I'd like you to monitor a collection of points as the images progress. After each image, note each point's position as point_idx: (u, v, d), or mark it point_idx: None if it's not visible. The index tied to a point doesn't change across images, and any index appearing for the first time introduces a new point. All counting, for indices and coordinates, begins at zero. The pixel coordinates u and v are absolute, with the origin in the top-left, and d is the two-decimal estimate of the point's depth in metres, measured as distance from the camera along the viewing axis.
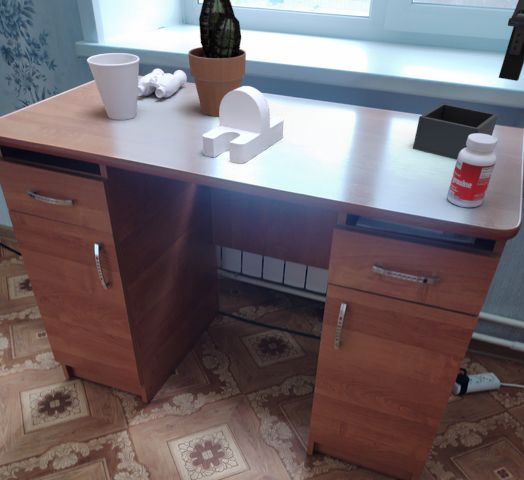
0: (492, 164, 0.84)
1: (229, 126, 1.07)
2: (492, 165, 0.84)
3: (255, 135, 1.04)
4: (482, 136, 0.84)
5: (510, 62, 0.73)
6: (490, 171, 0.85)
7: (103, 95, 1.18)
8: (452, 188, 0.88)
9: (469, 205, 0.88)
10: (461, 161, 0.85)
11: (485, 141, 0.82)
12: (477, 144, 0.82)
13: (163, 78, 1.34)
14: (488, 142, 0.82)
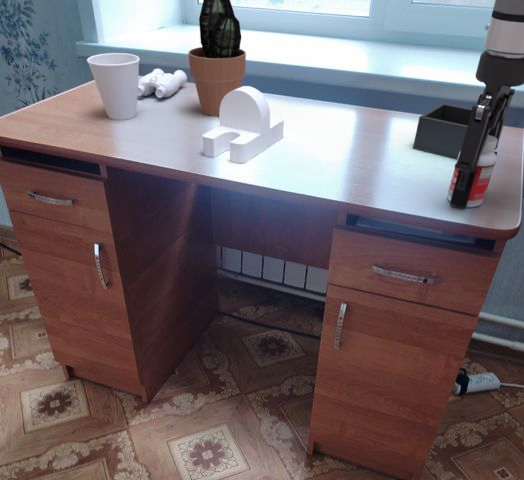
0: (492, 164, 0.84)
1: (229, 126, 1.07)
2: (492, 165, 0.84)
3: (256, 135, 1.04)
4: None
5: (458, 193, 0.87)
6: (490, 171, 0.85)
7: (103, 95, 1.18)
8: (452, 188, 0.88)
9: (469, 205, 0.88)
10: None
11: None
12: None
13: (163, 78, 1.34)
14: (489, 142, 0.82)
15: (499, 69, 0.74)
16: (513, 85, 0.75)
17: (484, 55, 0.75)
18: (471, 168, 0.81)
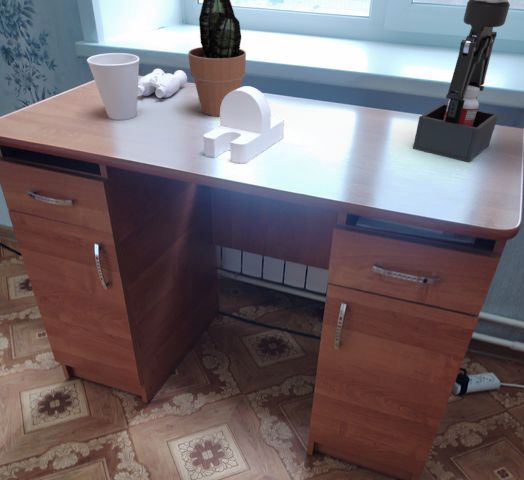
0: (475, 108, 1.04)
1: (229, 126, 1.07)
2: (475, 109, 1.04)
3: (256, 135, 1.04)
4: None
5: (449, 121, 1.04)
6: (473, 114, 1.05)
7: (103, 95, 1.18)
8: None
9: None
10: None
11: (470, 88, 1.03)
12: None
13: (163, 78, 1.34)
14: (473, 89, 1.02)
15: (482, 11, 0.92)
16: (493, 25, 0.93)
17: (470, 1, 0.93)
18: (459, 96, 0.98)
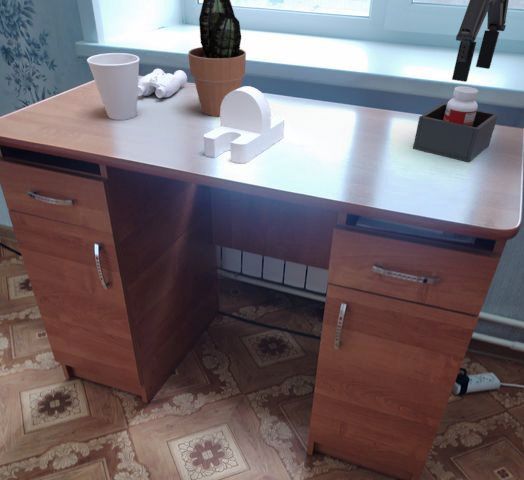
0: (474, 110, 1.04)
1: (229, 126, 1.07)
2: (474, 111, 1.04)
3: (256, 135, 1.04)
4: (466, 88, 1.04)
5: (459, 67, 0.96)
6: (472, 116, 1.05)
7: (103, 95, 1.18)
8: None
9: None
10: (449, 108, 1.05)
11: (468, 91, 1.02)
12: (462, 93, 1.02)
13: (163, 78, 1.34)
14: (471, 92, 1.02)
15: None
16: None
17: None
18: (471, 34, 0.90)
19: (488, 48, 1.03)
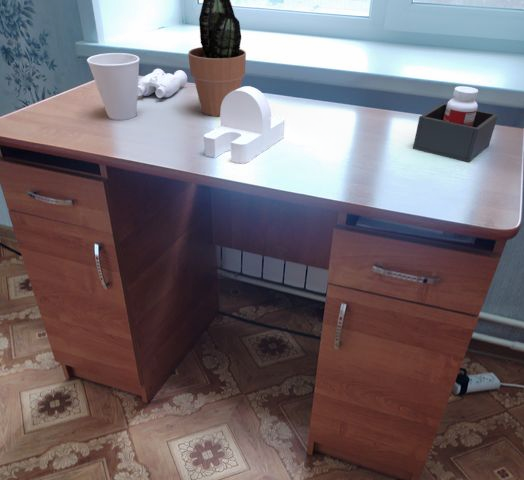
0: (474, 110, 1.04)
1: (230, 126, 1.07)
2: (474, 111, 1.04)
3: (256, 135, 1.04)
4: (466, 88, 1.04)
5: None
6: (472, 116, 1.05)
7: (103, 95, 1.18)
8: None
9: None
10: (449, 108, 1.05)
11: (468, 91, 1.02)
12: (462, 93, 1.02)
13: (163, 78, 1.34)
14: (471, 92, 1.02)
15: None
16: None
17: None
18: None
19: None
